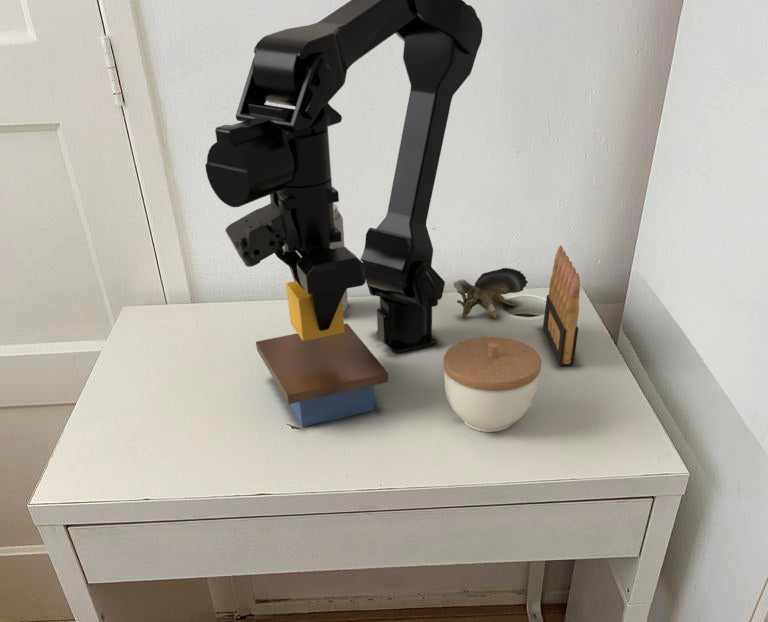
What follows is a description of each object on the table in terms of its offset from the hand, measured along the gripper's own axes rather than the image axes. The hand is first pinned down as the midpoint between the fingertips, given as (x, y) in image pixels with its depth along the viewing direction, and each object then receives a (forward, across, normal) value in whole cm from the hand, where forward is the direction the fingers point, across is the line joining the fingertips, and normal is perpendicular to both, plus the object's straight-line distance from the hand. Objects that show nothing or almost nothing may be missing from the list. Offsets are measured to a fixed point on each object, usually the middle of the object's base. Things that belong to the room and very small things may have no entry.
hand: (316, 320), depth 90 cm
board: (+6, 0, 0) cm, 6 cm away
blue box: (+10, 0, 0) cm, 10 cm away
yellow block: (+1, 0, 0) cm, 1 cm away
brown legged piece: (+10, -12, +29) cm, 33 cm away
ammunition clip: (+10, +1, +32) cm, 34 cm away
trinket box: (+10, +13, +16) cm, 23 cm away
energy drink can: (+10, -22, +8) cm, 25 cm away
